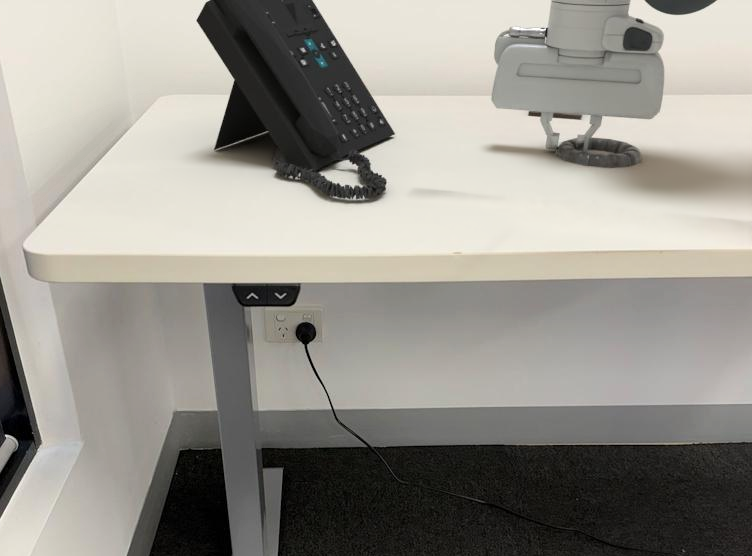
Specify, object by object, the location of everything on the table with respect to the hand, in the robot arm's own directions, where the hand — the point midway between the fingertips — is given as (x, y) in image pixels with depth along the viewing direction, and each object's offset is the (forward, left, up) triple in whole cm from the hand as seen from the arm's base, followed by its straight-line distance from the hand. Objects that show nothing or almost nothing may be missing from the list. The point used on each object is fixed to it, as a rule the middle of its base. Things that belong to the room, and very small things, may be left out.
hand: (566, 149), depth 96 cm
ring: (-4, 0, 0) cm, 4 cm away
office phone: (+30, +8, -2) cm, 31 cm away
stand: (+3, -28, -2) cm, 28 cm away
